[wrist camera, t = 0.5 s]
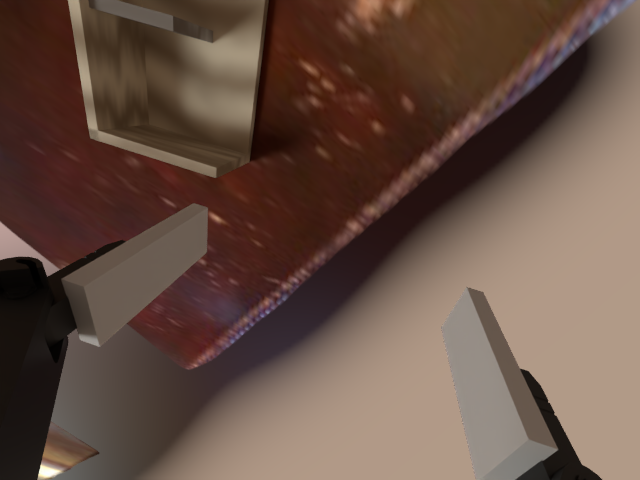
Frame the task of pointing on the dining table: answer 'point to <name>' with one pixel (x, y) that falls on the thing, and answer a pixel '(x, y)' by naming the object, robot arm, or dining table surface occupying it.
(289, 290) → the dining table surface
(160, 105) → the shelf
